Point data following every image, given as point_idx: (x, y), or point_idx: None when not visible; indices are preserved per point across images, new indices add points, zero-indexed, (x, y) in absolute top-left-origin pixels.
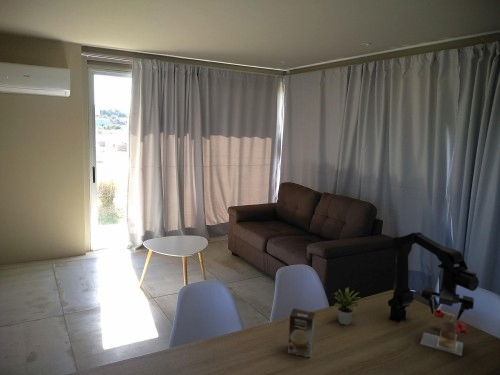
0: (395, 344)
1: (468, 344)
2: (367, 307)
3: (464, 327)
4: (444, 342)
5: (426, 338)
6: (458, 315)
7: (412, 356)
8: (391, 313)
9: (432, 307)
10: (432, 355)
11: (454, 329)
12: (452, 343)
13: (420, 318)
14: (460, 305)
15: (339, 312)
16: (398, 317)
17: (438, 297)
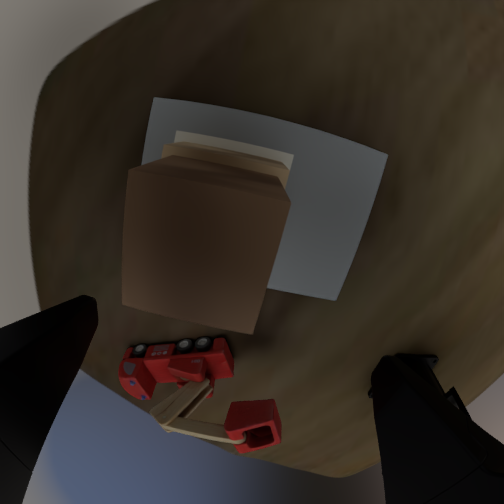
0: (479, 142)
1: (114, 268)
2: (462, 389)
3: (126, 371)
4: (247, 156)
5: (339, 232)
6: (37, 332)
7: (422, 43)
8: (435, 379)
9: (444, 417)
10: (326, 66)
11: (147, 169)
12: (192, 147)
13: (307, 408)
14: (19, 483)
15: None
16: (416, 369)
17: None
